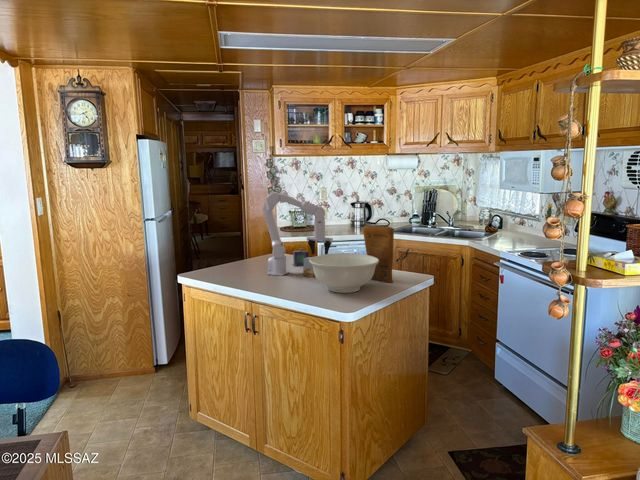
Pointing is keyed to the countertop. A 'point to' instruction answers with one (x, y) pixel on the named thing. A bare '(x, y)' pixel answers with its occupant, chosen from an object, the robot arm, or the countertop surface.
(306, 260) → the slate block
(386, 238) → the pancake mix bag
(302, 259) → the flask
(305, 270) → the oak slab
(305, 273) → the walnut slab
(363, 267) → the bowl
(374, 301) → the countertop surface
